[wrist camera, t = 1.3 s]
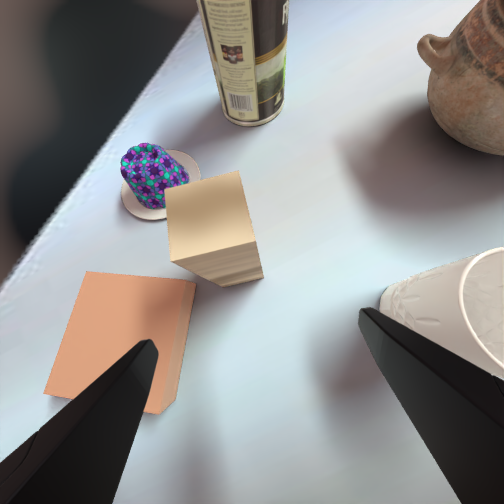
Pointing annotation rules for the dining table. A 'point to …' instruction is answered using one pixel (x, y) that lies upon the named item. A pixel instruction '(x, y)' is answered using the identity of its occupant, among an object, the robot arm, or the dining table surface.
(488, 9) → the cooking pot
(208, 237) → the maple block
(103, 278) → the terracotta base
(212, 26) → the coffee can
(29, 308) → the dining table surface
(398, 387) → the robot arm
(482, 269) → the white cup
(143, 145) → the pudding
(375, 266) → the dining table surface
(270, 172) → the dining table surface
